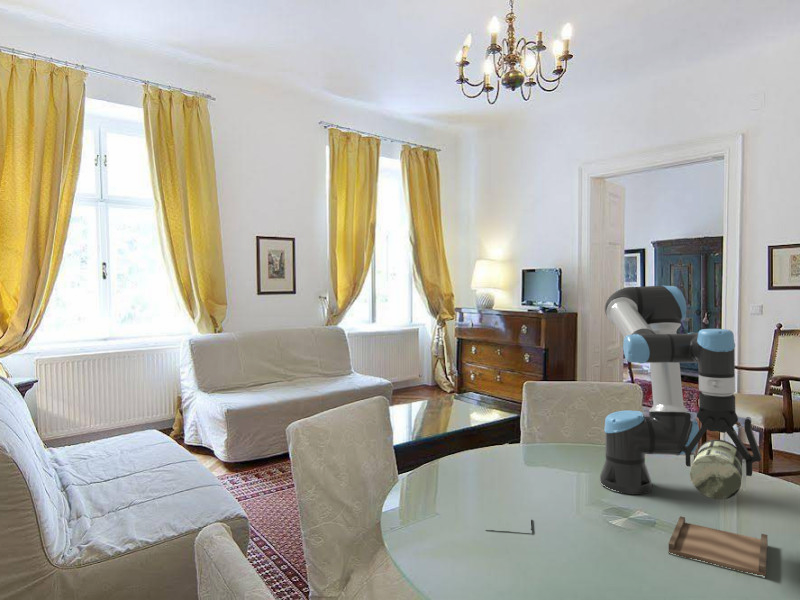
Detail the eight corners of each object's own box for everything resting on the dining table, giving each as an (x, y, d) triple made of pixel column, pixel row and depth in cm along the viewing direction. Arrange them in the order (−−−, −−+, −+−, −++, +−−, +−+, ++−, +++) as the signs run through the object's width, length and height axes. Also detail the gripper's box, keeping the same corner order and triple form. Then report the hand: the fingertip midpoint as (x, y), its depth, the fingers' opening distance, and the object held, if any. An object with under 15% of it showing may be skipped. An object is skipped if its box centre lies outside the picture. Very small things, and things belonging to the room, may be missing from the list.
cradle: (765, 578, 113) (765, 566, 113) (668, 553, 124) (668, 543, 124) (767, 545, 126) (767, 534, 126) (680, 525, 138) (680, 516, 138)
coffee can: (717, 509, 119) (722, 488, 130) (752, 481, 115) (755, 463, 126) (679, 473, 124) (687, 456, 135) (711, 446, 119) (717, 430, 131)
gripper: (662, 391, 129) (664, 479, 129) (774, 401, 115) (775, 499, 116) (667, 386, 135) (669, 470, 135) (774, 394, 121) (775, 488, 122)
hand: (718, 483), depth 126 cm, fingers closed on coffee can, 10 cm apart
